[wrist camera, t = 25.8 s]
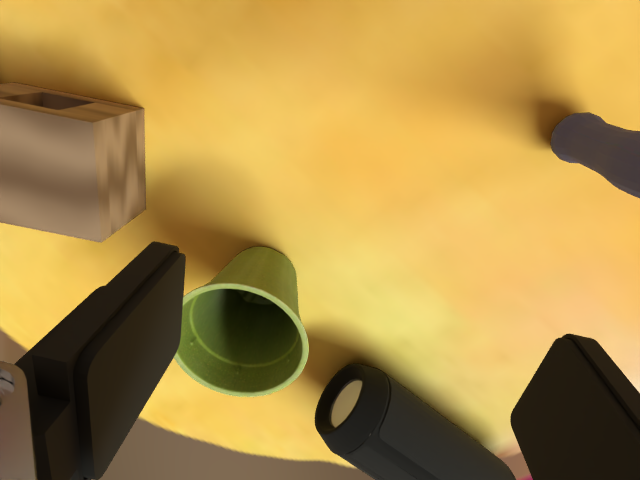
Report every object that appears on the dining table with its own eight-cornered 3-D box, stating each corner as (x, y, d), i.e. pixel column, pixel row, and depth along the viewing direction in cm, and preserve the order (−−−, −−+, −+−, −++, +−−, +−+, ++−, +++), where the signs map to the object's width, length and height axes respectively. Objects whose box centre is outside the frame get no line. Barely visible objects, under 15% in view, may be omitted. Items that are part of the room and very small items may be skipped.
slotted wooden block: (14, 82, 36) (-69, 90, 29) (144, 108, 36) (92, 122, 29) (30, 186, 40) (-39, 214, 33) (145, 209, 40) (101, 242, 33)
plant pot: (263, 336, 46) (237, 416, 36) (189, 266, 43) (137, 333, 33) (342, 284, 42) (338, 358, 32) (267, 202, 39) (235, 255, 29)
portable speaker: (314, 385, 49) (304, 460, 40) (369, 339, 45) (372, 411, 36) (454, 483, 55) (473, 568, 46) (514, 450, 51) (547, 535, 42)
